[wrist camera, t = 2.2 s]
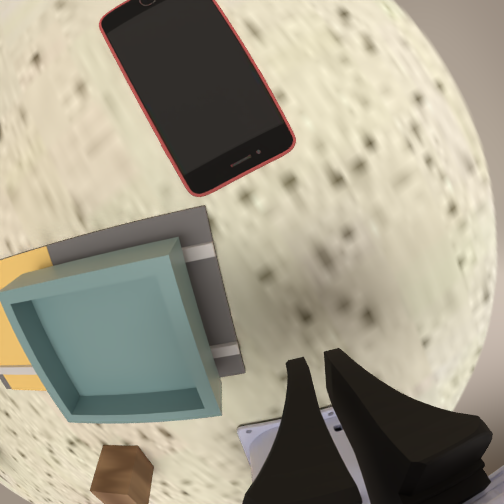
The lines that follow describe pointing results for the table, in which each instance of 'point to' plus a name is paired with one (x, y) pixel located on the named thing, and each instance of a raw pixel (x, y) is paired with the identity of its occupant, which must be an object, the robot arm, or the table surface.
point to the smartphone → (197, 89)
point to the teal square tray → (117, 336)
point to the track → (121, 237)
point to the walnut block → (122, 476)
